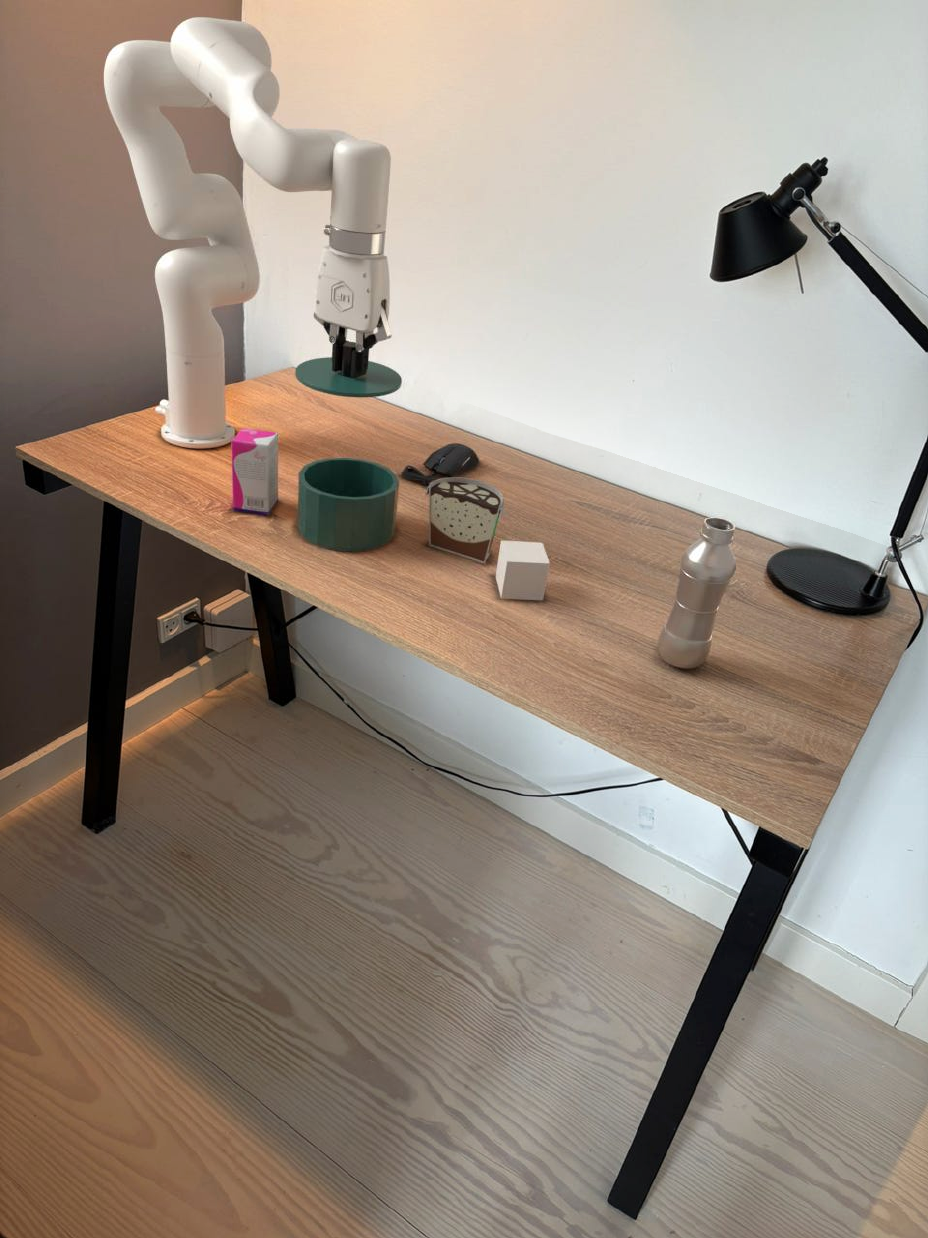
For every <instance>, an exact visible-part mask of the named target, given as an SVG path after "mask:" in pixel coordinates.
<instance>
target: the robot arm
mask: <svg viewBox="0 0 928 1238" xmlns="http://www.w3.org/2000/svg"><path fill="white" fill-rule="evenodd" d="M271 70H272V53H271V48H270V45H269V43H268V41H267V39H266V38H265V36H264V35H263V34H262V32H261V31H260V30H259V29H258V28H256V26H254V25H252V24H250V23H248V22H244V21H239V20H233V19H230V20H229V19H223V18H215V17H208V16H207V17H205V16H200V17H199V16H197V17H190V18H188V19H186V20H184V21H182V22H181V23H179V24H178V25H177V26H176V28H175V29H174V31H173V33H172V35H171V39H170V41H161V40H153V39H151V40H149V39H135V40H128V41H123V42H121V43H118V44H117V45H115V46H114V47H113V48H112V49H111V50H110V51H109V52H108V55H107V57H106V60H105V63H104V70H103V86H104V94H105V98H106V101H107V105H108V108H109V111H110V114H111V116H112V118H113V121H114V123H115V125H116V127H117V129H118V131H119V133H120V135H121V137H122V140H123V142H124V144H125V146H126V149H127V152H128V155H129V158H130V163H131V165H132V170H133V173H134V177H135V180H136V184H137V187H138V190H139V194H140V198H141V201H142V205H143V209H144V211H145V214H146V217H147V220H148V223H149V225H150V227H151V229H152V231H153V233H154V234H156V235H157V236H158V237H159V238H161V239H163V240H171V241H178V240H179V241H180V240H181V241H182V240H192V239H193V240H194V239H204V238H207V241H208V243H209V245H200V246H189V247H181V248H176V249H173V250H171V251H168V252H166V253H165V254H163V255H162V256H161V257H160V258H159V259H158V261H157V263H156V266H155V269H154V280H155V286H156V290H157V294H158V298H159V302H160V306H161V312H162V320H163V328H164V342H165V355H166V356H165V357H166V371H167V372H166V375H167V391H168V393H167V395H168V399H161V400H160V402H159V405H158V406H156V407H155V409H154V410H155V414H157V415H160V416H164V418H165V423H163V424H162V425H161V428H160V433H161V438H162V439H164V440H165V441H166V442H167V443H169V444H172V445H174V446H178V447H181V448H187V449H212V448H218V447H222V446H225V445H228V444H230V443H231V441H232V439H233V438H234V437H235V436H236V430H235V427H234V426H233V425H232V424H230V422H227V411H226V410H227V408H226V364H225V363H226V362H225V361H226V360H225V338H224V333H223V330H222V328H221V326H220V324H219V323H218V321H217V320H216V318H215V317H214V315H213V312H212V311H213V309H215V308H219V307H225V306H231V305H237V304H242V303H247V302H249V301H251V300H252V299H253V298H255V296H256V295H257V293H258V291H259V289H260V284H261V283H260V282H261V280H260V279H261V275H260V268H259V262H258V258H257V255H256V250H255V247H254V246H255V245H254V242H253V238H252V235H251V231H250V227H249V222H248V218H247V215H246V212H245V208H244V204H243V201H242V198H241V196H240V194H239V192H238V191H237V188H236V187H235V186H234V185H233V184H232V183H231V181H230V180H228V179H227V178H226V177H224V176H222V175H220V174H216V173H195V172H193V170H192V168H191V165H190V162H189V159H188V157H187V151H186V148H185V144H184V142H183V140H182V137H180V134H179V133H178V132H177V130H176V128H175V127H174V126H173V124H172V123H171V122H170V121H169V119H168V118H166V116H164V114H162V112H161V110H160V108H161V107H171V108H202V109H203V108H211V107H217V108H218V109H219V110H220V112H222V113H223V114H224V115H225V116H226V117H227V118H228V119H229V128H230V129H229V130H230V133H231V134H230V135H231V137H232V141H233V143H234V147H235V149H236V151H237V152H238V155H239V156H240V157H241V159H242V160H243V162H245V164H246V165H248V167H249V168H250V169H251V170H252V171H254V172H255V173H256V174H257V175H258V176H259V178H261V179H262V180H263V181H265V182H266V183H267V184H269V186H272V187H273V188H275V189H277V190H279V191H282V192H285V193H301V192H330V191H331V195H330V196H331V199H330V219H329V224H326V225H325V226H324V228H323V234H324V235H325V236H328V244H329V245H325V246H324V247H323V250H322V253H321V257H320V262H319V267H318V271H317V278H316V285H315V286H316V287H315V296H314V313H313V318H314V319H315V320H316V321H317V322H318V323H319V324H320V325H321V326H322V327H323V329H324V330H325V332H326V334H327V335H328V341H329V343H330V344H331V345H332V348H331V357H332V371H334V372H338V371H340V369H341V351H342V343H343V342H350V341H349V340H347V337H348V330H351V331H355V343H356V350H353V351H352V361H351V377H353V378H357V377H360V376H363V375H365V374H366V372H367V369H368V361H369V360H370V359H369V358H370V350H371V349H373V348H374V346H376V344H377V343H379V342H383V341H386V340H389V339H392V335H393V334H392V330H391V328H390V324H389V316H390V300H391V297H390V295H391V292H390V291H391V290H390V289H391V287H390V283H391V281H390V268H389V260H388V256H387V255H385V245H386V244H385V243H386V233H387V232H386V230H387V219H388V218H387V217H388V205H389V204H388V203H389V191H390V190H389V189H390V180H391V179H390V178H391V177H390V176H391V165H392V157H391V156H392V155H391V151H390V150H389V148H388V147H387V146H386V145H384V144H382V143H380V142H377V141H376V142H375V141H372V140H366V139H359V138H357V137H355V136H353V135H351V134H349V133H347V132H344V131H342V130H339V129H329V128H327V129H324V128H323V129H322V128H321V129H320V128H286V127H284V126H282V125H281V124H280V123H279V122H277V121H276V120H275V119H274V118H273V116H274V114H275V112H276V110H277V108H278V107H279V106H278V105H279V102H280V96H281V89H280V83H279V81H278V79H277V77H276V75H275V74H274V73H273V71H271ZM376 328H377V332H375V331H374V330H376Z"/></svg>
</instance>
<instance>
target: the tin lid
mask: <svg viewBox="0 0 928 1238" xmlns="http://www.w3.org/2000/svg"><path fill="white" fill-rule="evenodd" d="M353 350H356V341H349V342H343V343H342V351H341V369H340V371H338V372H334V371H332V356H331V357H330V356H328V357H326V356H325V357H318V358H313V359H308V360H305V361H303V362H301V363H299V364H298V365H297V366H296V368H295V370H294V371H295V373H294V376H295V378H296V380H297V381H298V382H299V383H301V385H303V386H305V387H307V388H309V389H311V390H313V391H317V392H320V393H323V394H328V395H332V396H338V397H345V398H378V397H382V396H387V395H390V394H393V393H395V392H397V391H399V390H400V388H401V387H402V385H403V378H402V375H400V374H399V372H397V371H396V370H395V369H393V368H391V367H389V366H387V365H385V364H381V363H379V362H374V361H371V360H368V369H367V372H366V374H365V375H363V376H360V377H357V378H353V377H351V361H352V351H353Z"/></svg>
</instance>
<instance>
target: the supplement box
mask: <svg viewBox="0 0 928 1238" xmlns="http://www.w3.org/2000/svg"><path fill="white" fill-rule="evenodd" d="M230 445H231V448H230V449H231V487H232V489H231V491H232V492H231V493H232V511H235V512H241V513H248V514H257V515H262V516H269V515H270V514H271V513H272V511H273V509H274V508H275V507H276V505H277V504H278V502H279V433H278V432H273V431H266V430H258V429H252V428H244V427H243V428H241V429H240V431H239V432H238V433H237V434H235V437H234V438H233V439H232V441H231V442H230Z"/></svg>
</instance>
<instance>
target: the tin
mask: <svg viewBox="0 0 928 1238" xmlns="http://www.w3.org/2000/svg"><path fill="white" fill-rule="evenodd" d="M399 488H400V480H399V478H398V475H397V474H396V473H395V472H393V470H391V468H388V467H387V466H384V465H382V464H380V463H377V462H375V461H370V460H366V459H362V458H352V457H329V458H324V459H323V458H322V459H318V460H314V461H311V462H310V463H308V464H305V465H304V466H303V467H302V468H301V470H299V472H298V487H297V490H298V491H297V530H298V532H299V534H300V535H301V537H302V538H304V539H305V540H306V541H308V542H310V543H311V544H313V545H315V546H318V547H320V548H324V549H327V550H332V551H339V552H365V551H370V550H374V549H378V548H380V547H383V546H384V545H387V544H388V543H390V541H391V540H392V539H393V537H394V535H395V531H396V524H397V514H398V513H397V512H398V511H397V510H398V503H399V501H398V500H399Z"/></svg>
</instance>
